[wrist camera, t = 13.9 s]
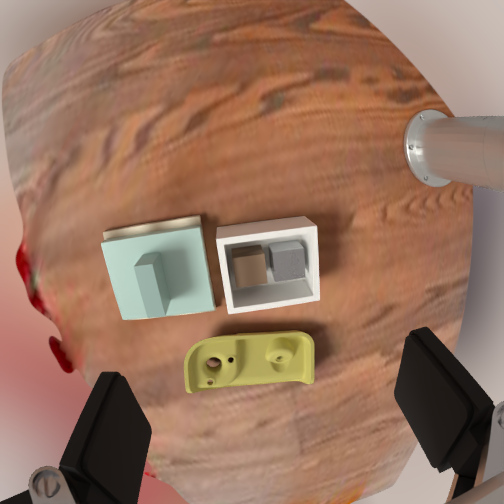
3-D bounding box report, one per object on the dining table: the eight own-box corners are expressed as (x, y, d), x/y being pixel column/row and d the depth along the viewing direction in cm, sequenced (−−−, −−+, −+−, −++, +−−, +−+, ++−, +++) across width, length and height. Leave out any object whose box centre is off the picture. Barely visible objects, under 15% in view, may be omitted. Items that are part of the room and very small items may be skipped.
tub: (304, 215, 41) (317, 225, 35) (308, 281, 44) (319, 300, 38) (216, 227, 40) (215, 239, 35) (227, 293, 43) (228, 314, 38)
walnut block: (260, 244, 41) (264, 253, 37) (263, 271, 42) (267, 283, 38) (231, 248, 41) (232, 258, 37) (235, 275, 42) (236, 287, 38)
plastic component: (314, 330, 44) (314, 391, 43) (298, 326, 52) (299, 379, 50) (182, 336, 41) (186, 400, 40) (184, 330, 48) (187, 386, 47)
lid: (200, 224, 39) (196, 237, 33) (214, 304, 43) (213, 327, 37) (105, 239, 38) (87, 253, 32) (126, 313, 42) (114, 336, 36)
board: (200, 214, 40) (199, 216, 39) (216, 307, 44) (216, 310, 43) (105, 230, 39) (102, 232, 38) (129, 317, 43) (127, 320, 42)
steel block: (296, 239, 41) (303, 248, 37) (298, 266, 42) (305, 277, 38) (267, 243, 41) (272, 252, 37) (270, 270, 42) (275, 282, 38)
